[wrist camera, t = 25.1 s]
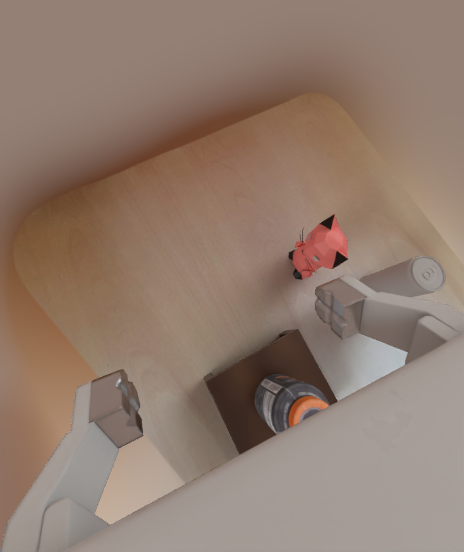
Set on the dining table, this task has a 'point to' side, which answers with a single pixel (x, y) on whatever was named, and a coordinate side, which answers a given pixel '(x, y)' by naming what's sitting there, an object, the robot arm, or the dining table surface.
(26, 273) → the dining table surface
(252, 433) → the shelf
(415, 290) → the beverage can
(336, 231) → the cat figurine
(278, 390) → the pill bottle
